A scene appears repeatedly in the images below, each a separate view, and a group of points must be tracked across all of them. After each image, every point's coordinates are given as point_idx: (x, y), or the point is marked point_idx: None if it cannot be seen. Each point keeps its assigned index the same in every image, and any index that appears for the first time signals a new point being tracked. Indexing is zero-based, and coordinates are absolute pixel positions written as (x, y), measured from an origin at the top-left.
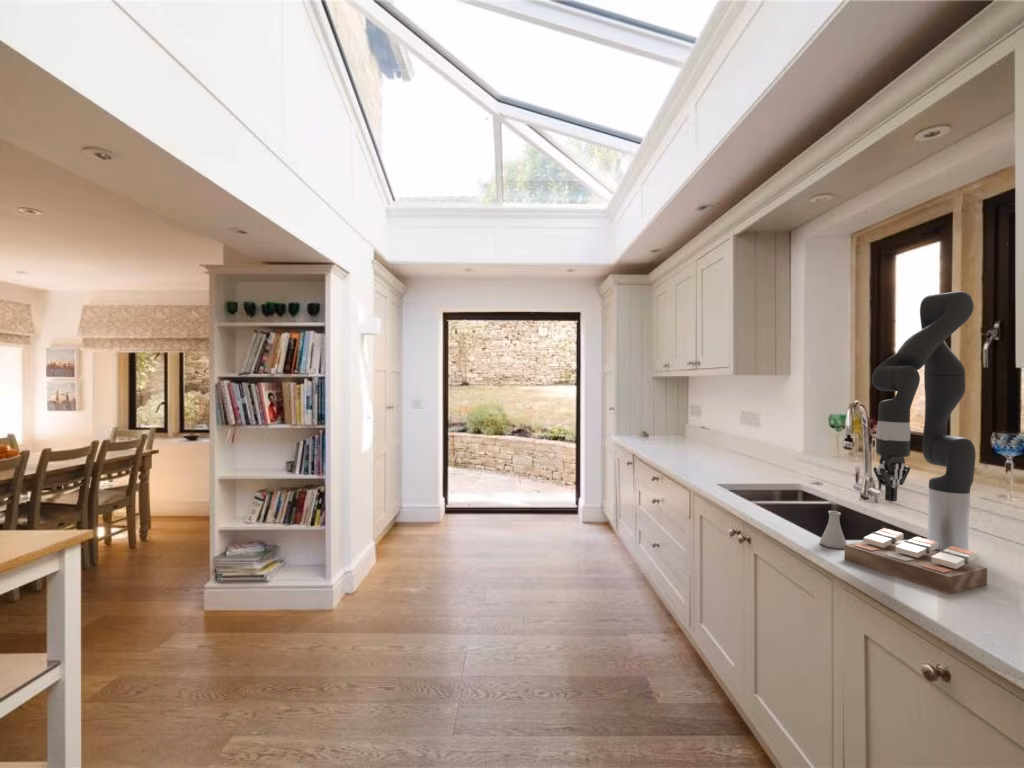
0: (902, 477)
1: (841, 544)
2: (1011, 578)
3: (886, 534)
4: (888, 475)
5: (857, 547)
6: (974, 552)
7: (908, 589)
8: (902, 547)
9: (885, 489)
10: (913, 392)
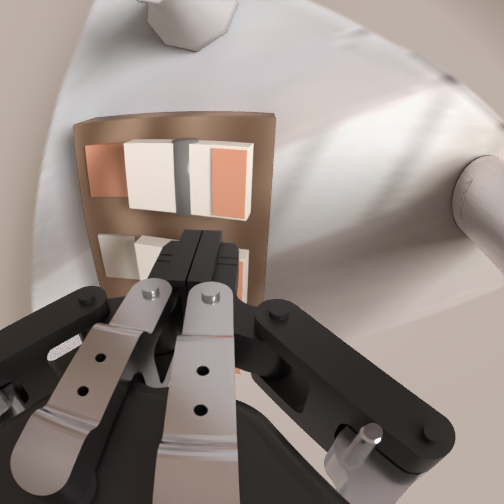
0: (287, 410)
1: (175, 41)
2: (350, 335)
3: (198, 183)
4: (141, 379)
5: (85, 156)
6: (238, 372)
7: (77, 283)
8: (141, 259)
9: (147, 278)
10: None
